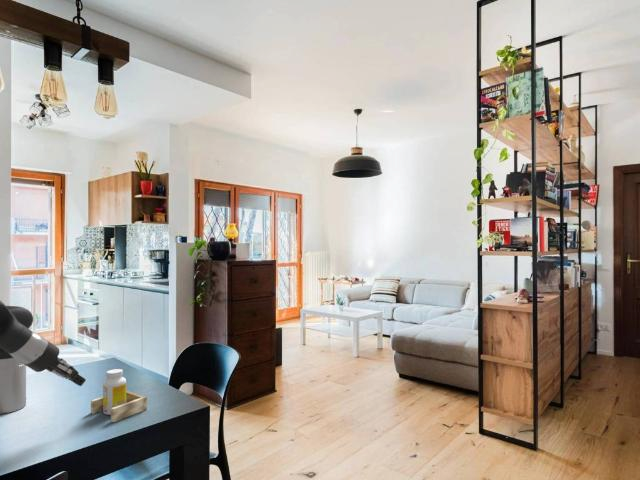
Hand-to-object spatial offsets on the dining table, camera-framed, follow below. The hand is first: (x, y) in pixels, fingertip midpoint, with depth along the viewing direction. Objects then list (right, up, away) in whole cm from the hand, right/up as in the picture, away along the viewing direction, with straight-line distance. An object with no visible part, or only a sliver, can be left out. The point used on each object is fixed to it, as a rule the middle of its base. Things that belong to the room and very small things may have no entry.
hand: (82, 382), depth 118 cm
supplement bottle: (+4, -13, +10) cm, 17 cm away
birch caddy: (+5, -13, +10) cm, 17 cm away
